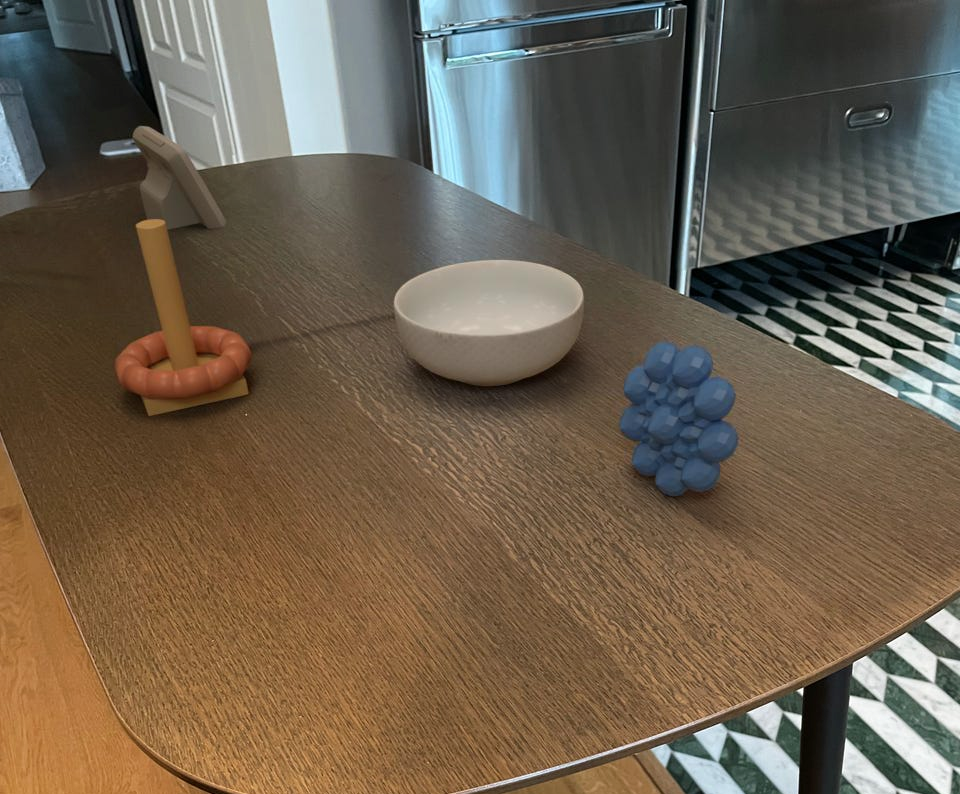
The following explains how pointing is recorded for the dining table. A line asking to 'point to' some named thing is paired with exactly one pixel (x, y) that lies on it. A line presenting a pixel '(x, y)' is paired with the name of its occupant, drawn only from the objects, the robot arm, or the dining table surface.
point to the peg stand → (174, 321)
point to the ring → (187, 380)
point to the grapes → (678, 418)
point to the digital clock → (174, 184)
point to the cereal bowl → (489, 320)
